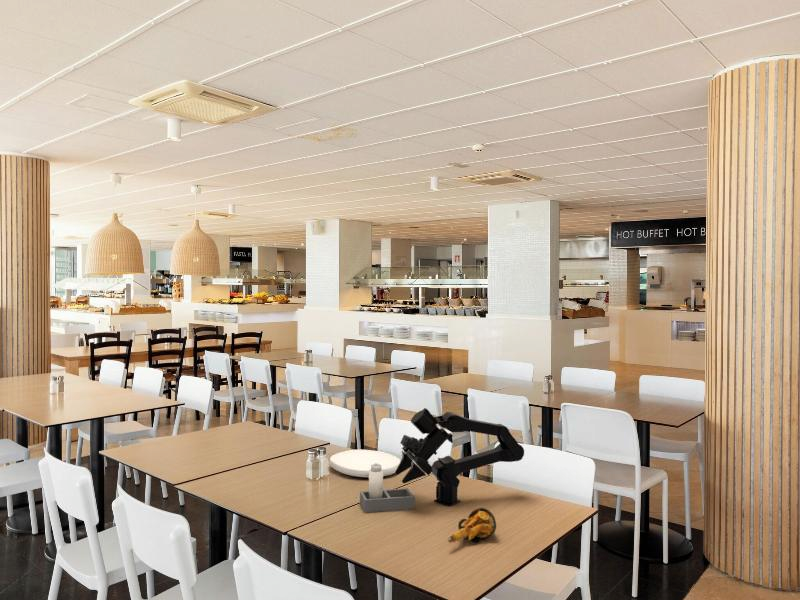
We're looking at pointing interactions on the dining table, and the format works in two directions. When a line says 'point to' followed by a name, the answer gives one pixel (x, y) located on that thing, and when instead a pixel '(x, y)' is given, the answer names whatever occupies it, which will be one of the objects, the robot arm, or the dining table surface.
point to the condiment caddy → (388, 501)
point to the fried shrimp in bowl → (475, 527)
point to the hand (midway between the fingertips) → (399, 478)
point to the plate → (363, 462)
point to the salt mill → (375, 482)
